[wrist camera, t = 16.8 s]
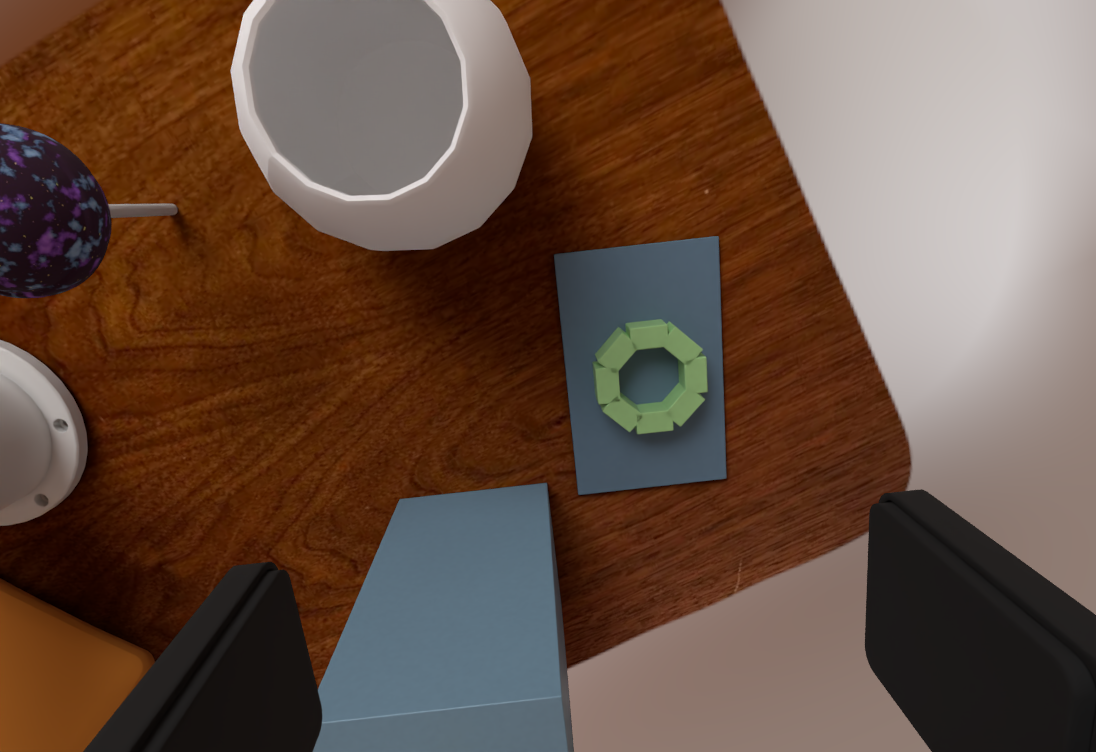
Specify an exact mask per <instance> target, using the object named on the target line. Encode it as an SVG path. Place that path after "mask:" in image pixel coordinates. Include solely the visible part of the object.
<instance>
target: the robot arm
mask: <svg viewBox="0 0 1096 752" xmlns="http://www.w3.org/2000/svg"><path fill="white" fill-rule="evenodd" d="M87 452H88V446H87V432H86V429H85V425H84V421H83V418H82V414H81V412H80V410H79V408H78V406H77V404H76V402H75V400H74V398H73V396H72V395H71V394H70V392H69V391H68V389H67V388H66V387H65V385H64V384H63V382H62V381H61V380H60V379H59V378H58V377H57V376H56V375H55V374H54V373H53V372H52V371H51V370H50V369H49V368H48V367H47V366H46V365H44V364H43V363H42V362H40V361H39V360H38V359H36V358H35V357H34V356H32V355H31V354H29V353H28V352H26V351H24V350H22V349H20V348H18V347H16V346H14V345H12V344H10V343H8V342H5V341H2V340H0V526H8V525H13V524H18V523H23V522H27V521H29V520H32V519H34V518H36V517H39V516H41V515H43V514H44V513H46V512H48V511H49V510H51V509H52V508H54V507H56V506H57V505H58V504H60V503H61V502H62V501H63V500H64V499H65V498H66V497H68V496H69V495H70V494H71V492H72V491H73V489H74V488H75V487H76V485H77V484H78V482H79V481H80V478H81V476H82V473H83V471H84V468H85V465H86V458H87ZM867 572H868V573H867V601H866V628H865V630H866V631H865V651H866V656H867V659H868V662H869V664H870V667H871V669H872V670H873V672H874V673H875V675H876V676H877V678H878V679H879V680H880V682H881V683H882V684H883V685H884V687H885V688H886V690H887V691H888V693H889V694H890V695H891V697H892V698H893V699H894V701H895V702H896V703H897V705H898V706H899V707H900V709H901V710H902V712H903V713H904V714H905V716H906V717H907V718H908V720H909V721H910V722H911V724H912V725H913V727H914V728H915V729H916V731H917V732H918V733H919V735H920V736H921V738H922V739H923V740H924V742H925V743H926V744H927V746H928V747H929V748H930V750H931V751H932V752H1096V615H1095V614H1094V613H1092V612H1091V611H1090V610H1088V609H1087V608H1085V607H1084V606H1083V605H1081V604H1080V603H1079V602H1077V601H1076V600H1075V599H1073V598H1072V597H1070V596H1069V595H1068V594H1066V593H1065V592H1064V591H1062V590H1061V589H1059V588H1058V587H1057V586H1055V585H1054V584H1053V583H1051V582H1050V581H1048V580H1047V579H1046V578H1044V577H1043V576H1042V575H1040V574H1039V573H1038V572H1036V571H1035V570H1033V569H1032V568H1031V567H1029V566H1028V565H1026V564H1025V563H1024V562H1022V561H1021V560H1020V559H1018V558H1017V557H1016V556H1014V555H1013V554H1012V553H1010V552H1009V551H1007V550H1006V549H1004V548H1003V547H1002V546H1001V545H999V544H998V543H996V542H995V541H994V540H992V539H991V538H990V537H988V536H987V535H985V534H984V533H983V532H981V531H980V530H979V529H977V528H976V527H975V526H973V525H972V524H970V523H969V522H968V521H966V520H965V519H963V518H962V517H961V516H959V515H958V514H957V513H955V512H954V511H952V510H951V509H950V508H948V507H947V506H946V505H944V504H943V503H942V502H940V501H939V500H937V499H936V498H935V497H934V496H932V495H931V494H929V493H928V492H926V491H924V490H912V491H903V492H894V493H885V494H884V495H882V496H881V498H880V500H879V503H878V504H874V505H872V507H871V509H870V515H869V543H868V571H867ZM321 726H322V706H321V701H320V697H319V693H318V689H317V685H316V681H315V677H314V673H313V669H312V665H311V661H310V657H309V653H308V649H307V645H306V641H305V637H304V633H303V629H302V625H301V621H300V617H299V613H298V609H297V605H296V601H295V597H294V593H293V589H292V585H291V581H290V577H289V574H288V573H287V571H285V570H278V568H277V567H276V565H275V564H274V563H272V562H265V563H256V564H247V565H238V566H233V567H232V568H231V569H230V570H229V571H228V572H227V574H226V575H225V576H224V577H223V579H222V580H221V581H220V582H219V584H218V585H217V586H216V587H215V588H214V590H213V591H212V592H211V593H210V595H209V596H208V597H207V598H206V600H205V601H204V602H203V603H202V605H201V606H200V607H199V608H198V610H197V611H196V612H195V613H194V615H193V616H192V617H191V618H190V619H189V621H188V622H187V623H186V624H185V626H184V627H183V628H182V629H181V631H180V632H179V633H178V634H177V636H176V637H175V638H174V639H173V641H172V642H171V643H170V644H169V646H168V647H167V648H166V649H165V650H164V652H163V653H162V654H161V655H160V657H159V658H158V659H157V660H156V662H155V663H154V664H153V665H152V667H151V668H150V669H149V670H148V672H147V673H146V674H145V675H144V677H143V678H142V679H141V680H140V681H139V683H138V684H137V685H136V686H135V688H134V689H133V690H132V691H131V693H130V694H129V695H128V696H127V698H126V699H125V700H124V701H123V703H122V704H121V705H120V706H119V708H118V709H117V710H116V711H115V712H114V714H113V715H112V716H111V717H110V719H109V720H108V721H107V722H106V724H105V725H104V726H103V727H102V729H101V730H100V731H99V732H98V734H97V735H96V736H95V737H94V739H93V740H92V741H91V742H90V744H89V745H88V746H87V747H86V748H85V750H84V751H83V752H313V750H314V747H315V744H316V742H317V739H318V737H319V734H320V731H321Z"/></svg>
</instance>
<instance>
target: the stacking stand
mask: <svg viewBox="0 0 1096 752" xmlns="http://www.w3.org/2000/svg"><path fill="white" fill-rule="evenodd" d="M318 693H319V697H320V701H321V706H322V726H321V731H320V734H319V737H318V739H317V742H316V744H315V747H314V750H313V752H574V748H573V736H572V724H571V713H570V700H569V688H568V676H567V664H566V652H565V640H564V628H563V616H562V606H561V597H560V589H559V580H558V571H557V563H556V554H555V546H554V537H553V529H552V520H551V511H550V503H549V494H548V486H547V483H541V484H532V485H523V486H514V487H505V488H496V489H487V490H478V491H469V492H460V493H451V494H442V495H433V496H424V497H415V498H406V499H400V500H399V502H398V504H397V506H396V509H395V511H394V513H393V516H392V518H391V520H390V523H389V525H388V527H387V530H386V532H385V534H384V537H383V539H382V541H381V544H380V546H379V548H378V551H377V553H376V555H375V558H374V560H373V562H372V565H371V567H370V569H369V572H368V574H367V576H366V579H365V581H364V583H363V586H362V588H361V591H360V593H359V595H358V598H357V600H356V602H355V605H354V607H353V609H352V612H351V614H350V616H349V619H348V621H347V623H346V626H345V628H344V630H343V633H342V635H341V637H340V640H339V642H338V644H337V647H336V649H335V651H334V654H333V656H332V658H331V661H330V663H329V665H328V668H327V670H326V672H325V675H324V677H323V679H322V682H321V684H320V686H319V689H318Z"/></svg>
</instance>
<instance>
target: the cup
mask: <svg viewBox="0 0 1096 752" xmlns="http://www.w3.org/2000/svg"><path fill="white" fill-rule="evenodd" d="M231 76H232V83H233V89H234V96H235V102H236V109H237V116H238V122H239V129H240V131H241V133H242V136H243V138H244V140H245V142H246V143H247V145H248V147H249V149H250V151H251V152H252V154H253V156H254V158H255V160H256V161H257V163H258V165H259V167H260V169H261V171H262V172H263V174H264V176H265V178H266V180H267V181H268V183H269V185H270V187H271V189H272V190H273V192H274V193H275V194H276V195H277V196H279V197H280V198H281V199H282V200H283V201H284V202H285V203H287V204H288V205H289V206H290V207H291V208H292V209H293V210H295V211H296V212H297V213H298V214H299V215H300V216H302V217H303V218H304V219H305V220H306V221H307V222H308V223H310V224H311V225H312V226H313V227H314V228H315V229H316V230H318V231H320V232H323V233H326V234H329V235H331V236H334V237H337V238H339V239H342V240H345V241H348V242H350V243H353V244H356V245H358V246H361V247H364V248H367V249H369V250H378V251H396V250H424V249H435V248H437V247H439V246H441V245H444V244H446V243H448V242H450V241H452V240H454V239H456V238H458V237H461V236H463V235H465V234H467V233H469V232H471V231H473V230H475V229H478V228H480V227H481V226H482V224H483V223H484V222H485V221H486V220H487V219H488V218H489V217H490V215H491V214H492V213H493V212H494V211H495V210H496V209H497V208H498V206H499V205H500V204H501V203H502V202H503V201H504V200H505V199H506V197H507V196H508V195H509V194H510V193H511V192H512V191H513V189H514V188H515V185H516V182H517V179H518V176H519V174H520V171H521V168H522V165H523V162H524V159H525V156H526V153H527V151H528V148H529V145H530V142H531V139H532V114H531V87H530V77H529V75H528V72H527V70H526V67H525V65H524V63H523V60H522V58H521V56H520V53H519V51H518V49H517V46H516V44H515V41H514V39H513V37H512V34H511V32H510V30H509V27H508V25H507V23H506V21H505V19H504V17H503V15H502V13H501V12H500V10H499V9H498V8H497V7H496V6H495V5H494V4H493V3H492V2H491V1H490V0H253V2H252V3H251V4H250V6H249V7H248V8H247V10H246V11H245V13H244V14H243V18H242V23H241V27H240V32H239V36H238V40H237V45H236V49H235V54H234V58H233V62H232V67H231Z"/></svg>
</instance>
